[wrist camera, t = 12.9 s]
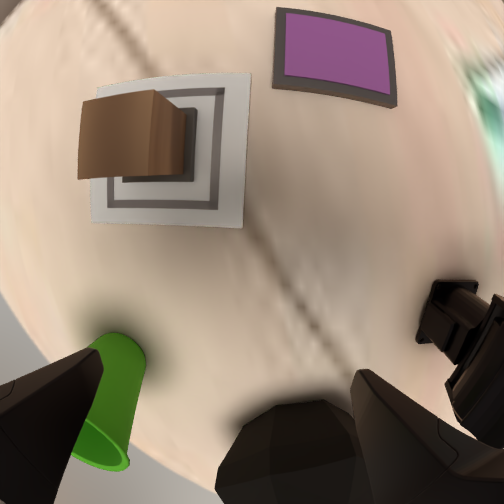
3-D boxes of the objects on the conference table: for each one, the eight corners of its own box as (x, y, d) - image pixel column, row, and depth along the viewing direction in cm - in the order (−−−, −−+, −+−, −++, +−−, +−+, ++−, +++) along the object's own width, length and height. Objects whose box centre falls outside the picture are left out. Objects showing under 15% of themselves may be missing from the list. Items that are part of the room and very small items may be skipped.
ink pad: (385, 35, 14) (391, 29, 13) (391, 108, 16) (398, 105, 15) (275, 13, 14) (276, 5, 13) (272, 88, 16) (273, 82, 15)
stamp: (197, 110, 16) (165, 78, 10) (193, 181, 18) (158, 186, 11) (131, 115, 16) (77, 94, 10) (128, 182, 18) (70, 190, 11)
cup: (80, 300, 21) (6, 368, 10) (169, 329, 21) (121, 430, 11) (88, 369, 23) (41, 438, 13) (164, 397, 24) (134, 483, 13)
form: (251, 74, 16) (251, 72, 15) (242, 227, 19) (242, 228, 18) (99, 88, 16) (96, 87, 15) (93, 222, 19) (90, 223, 18)
